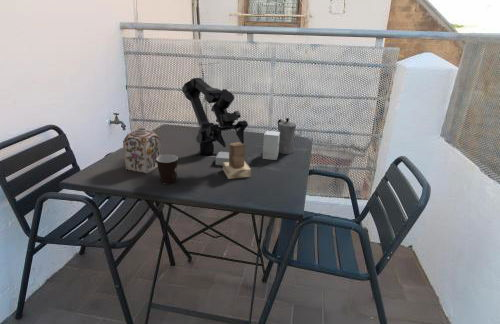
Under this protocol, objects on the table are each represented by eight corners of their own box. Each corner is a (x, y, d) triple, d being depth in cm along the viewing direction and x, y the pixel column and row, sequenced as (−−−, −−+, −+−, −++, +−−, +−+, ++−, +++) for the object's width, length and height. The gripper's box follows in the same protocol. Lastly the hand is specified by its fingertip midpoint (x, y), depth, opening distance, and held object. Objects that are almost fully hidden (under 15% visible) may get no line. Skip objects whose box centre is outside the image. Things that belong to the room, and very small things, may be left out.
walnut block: (229, 165, 147) (229, 143, 144) (238, 163, 150) (238, 141, 146) (234, 168, 144) (234, 146, 140) (244, 166, 147) (244, 144, 143)
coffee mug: (168, 187, 133) (167, 164, 130) (153, 181, 138) (151, 159, 134) (188, 177, 143) (187, 155, 139) (173, 172, 147) (172, 151, 143)
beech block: (228, 179, 143) (228, 171, 141) (223, 170, 152) (223, 162, 150) (250, 177, 146) (250, 169, 144) (244, 168, 154) (244, 160, 153)
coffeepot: (299, 154, 173) (302, 120, 167) (284, 156, 170) (286, 122, 163) (283, 145, 186) (286, 113, 179) (269, 147, 182) (271, 114, 176)
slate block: (215, 165, 157) (215, 157, 155) (219, 159, 164) (219, 151, 163) (232, 166, 156) (232, 158, 154) (235, 160, 163) (235, 152, 162)
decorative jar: (125, 169, 148) (120, 130, 141) (141, 160, 158) (138, 124, 151) (147, 174, 144) (144, 134, 138) (163, 164, 154) (160, 127, 148)
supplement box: (276, 160, 164) (278, 135, 160) (262, 158, 166) (263, 134, 161) (278, 155, 171) (280, 131, 166) (264, 153, 172) (265, 130, 168)
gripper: (209, 106, 138) (222, 139, 134) (246, 102, 148) (259, 133, 144) (200, 120, 147) (212, 151, 143) (236, 115, 157) (249, 145, 153)
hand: (234, 145), depth 146 cm, fingers open, 9 cm apart
